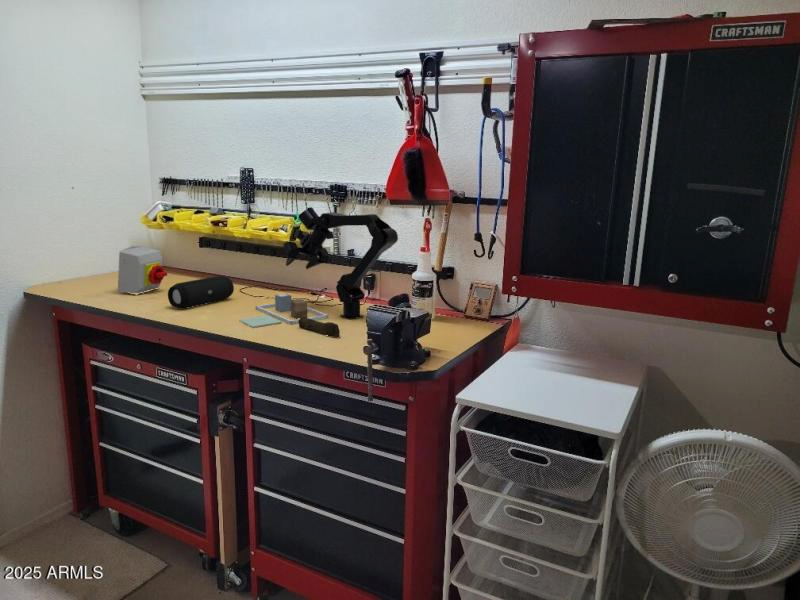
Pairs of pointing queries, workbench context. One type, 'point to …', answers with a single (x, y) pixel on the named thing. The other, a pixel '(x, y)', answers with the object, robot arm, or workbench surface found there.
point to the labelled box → (282, 302)
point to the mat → (260, 321)
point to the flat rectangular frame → (261, 308)
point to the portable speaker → (200, 291)
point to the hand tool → (320, 326)
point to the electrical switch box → (139, 269)
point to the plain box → (298, 308)
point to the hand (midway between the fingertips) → (296, 266)
